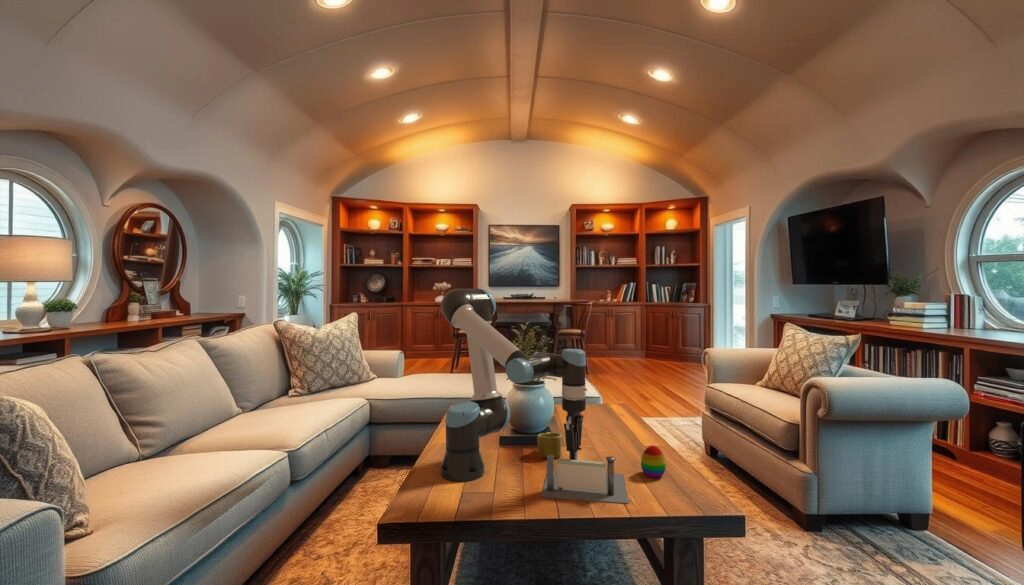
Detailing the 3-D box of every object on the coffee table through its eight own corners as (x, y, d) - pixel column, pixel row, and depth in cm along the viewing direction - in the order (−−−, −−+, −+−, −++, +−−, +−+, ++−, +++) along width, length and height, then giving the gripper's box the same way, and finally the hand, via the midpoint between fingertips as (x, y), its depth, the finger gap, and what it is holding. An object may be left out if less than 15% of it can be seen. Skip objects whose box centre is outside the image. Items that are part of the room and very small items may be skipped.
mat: (541, 497, 142) (541, 496, 142) (548, 469, 164) (548, 469, 164) (628, 503, 138) (628, 502, 138) (623, 475, 159) (623, 474, 159)
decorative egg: (668, 473, 161) (668, 444, 161) (662, 481, 154) (662, 451, 154) (644, 468, 165) (644, 440, 165) (638, 476, 158) (638, 447, 158)
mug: (564, 457, 171) (557, 429, 174) (538, 463, 173) (531, 436, 176) (569, 452, 183) (562, 427, 185) (544, 458, 185) (537, 433, 187)
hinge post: (606, 496, 142) (606, 459, 142) (605, 493, 145) (605, 456, 145) (615, 497, 142) (615, 459, 142) (615, 493, 145) (615, 456, 145)
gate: (605, 492, 145) (605, 462, 145) (605, 494, 143) (605, 464, 143) (557, 487, 148) (557, 458, 148) (556, 489, 146) (556, 460, 146)
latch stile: (546, 492, 146) (547, 457, 145) (547, 488, 148) (547, 454, 148) (555, 493, 145) (555, 457, 145) (555, 489, 148) (556, 454, 148)
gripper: (578, 403, 141) (579, 480, 142) (590, 394, 153) (591, 465, 153) (555, 400, 145) (555, 476, 145) (569, 392, 156) (569, 462, 156)
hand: (573, 470), depth 149 cm, fingers closed
